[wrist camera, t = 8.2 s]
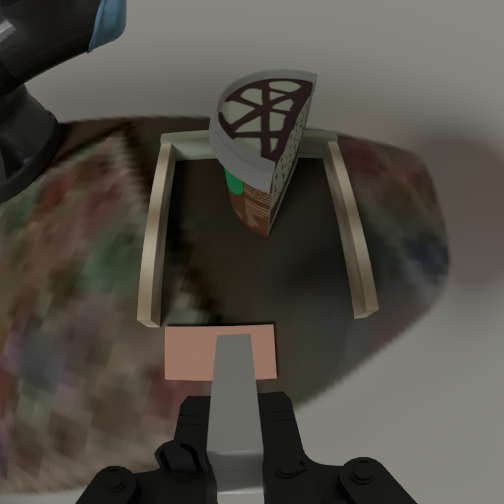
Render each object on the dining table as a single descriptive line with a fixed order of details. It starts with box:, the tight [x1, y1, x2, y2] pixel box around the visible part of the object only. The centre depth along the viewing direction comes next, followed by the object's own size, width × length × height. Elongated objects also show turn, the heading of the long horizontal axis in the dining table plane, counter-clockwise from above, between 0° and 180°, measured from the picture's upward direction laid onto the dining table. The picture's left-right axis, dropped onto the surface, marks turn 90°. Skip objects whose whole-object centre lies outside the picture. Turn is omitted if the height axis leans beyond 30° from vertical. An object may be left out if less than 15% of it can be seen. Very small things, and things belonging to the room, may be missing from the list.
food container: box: [209, 69, 317, 237], centre depth 22 cm, size 12×6×10 cm, turn 159°
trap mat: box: [165, 324, 277, 381], centre depth 20 cm, size 4×8×1 cm, turn 93°
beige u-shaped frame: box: [137, 130, 379, 327], centre depth 24 cm, size 18×17×3 cm
